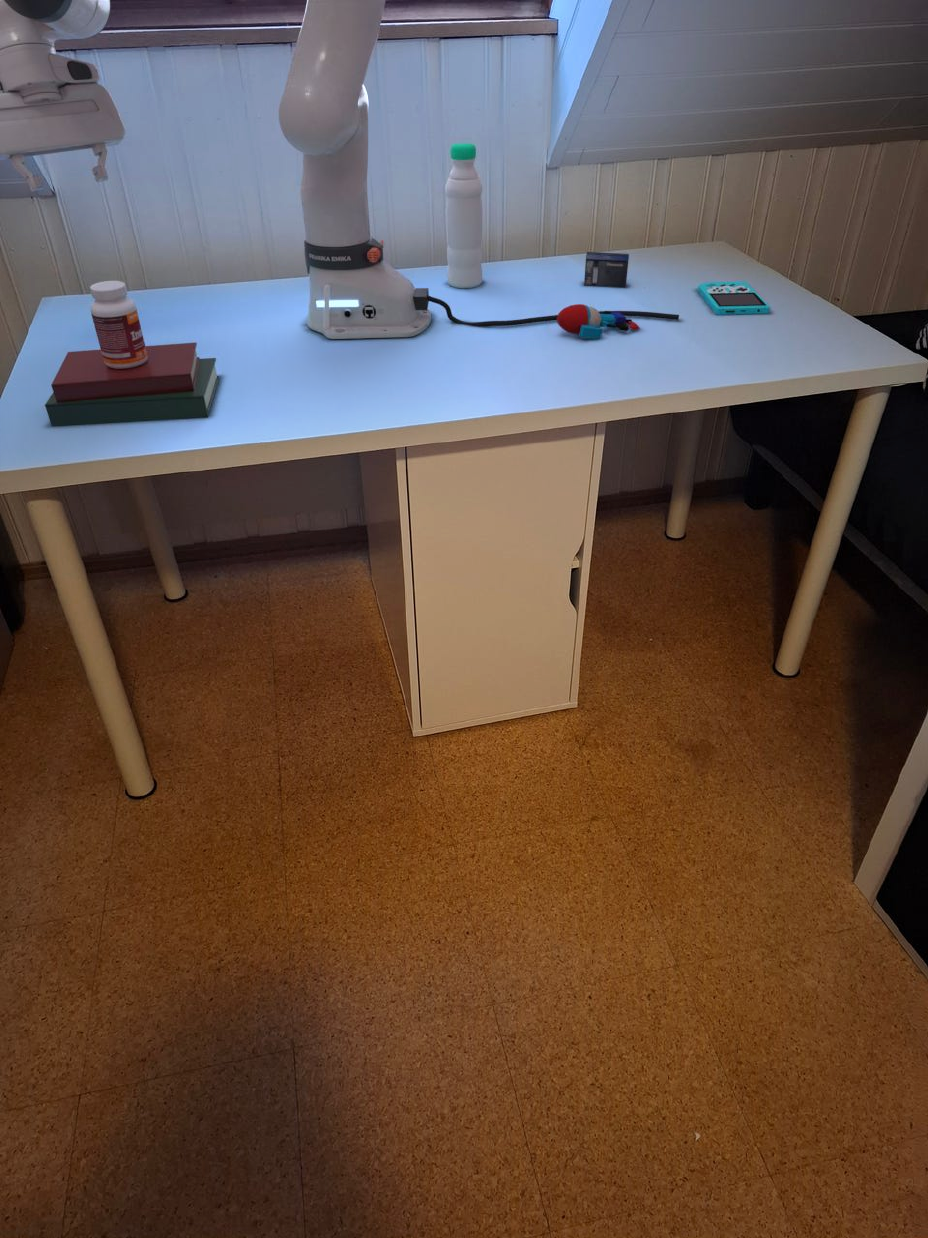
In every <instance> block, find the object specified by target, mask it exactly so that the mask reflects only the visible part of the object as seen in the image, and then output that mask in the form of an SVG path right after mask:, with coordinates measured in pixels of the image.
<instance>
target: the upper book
mask: <svg viewBox="0 0 928 1238" xmlns="http://www.w3.org/2000/svg"><path fill="white" fill-rule="evenodd" d="M197 344H198V343H197V342H196V341H195V342H185V343H171V344H170V343H169V344H159V345H158V344H156V345H155V344H154V345H145V347H146V351H147V355H148V358H147V361H146V362H145V363H144V364H142V365H139V366H137V367H133V368H127V369H114V368H111V367H108V366H107V365H106V364H105V363H104V360H103V356H102V352H101V349H90V350H89V349H88V350H76V351H74V350H73V351H68V352H67V353H66V355H65V357H64V359H63V361H62V363H61V365H60V367H59V369H58V371H57V372H56V375H55V377H54V379H53V381H52V382H51V389H52V393H53V392H54V395H55V398H56V402H68V401H80V400H92V399H104V398H117V397H129V396H141V395H153V394H166V393H178V392H190V391H194V389H195V383H196V377H197V372H198V366H199V360H200V359H201V358H200V356H198V354H197Z"/></svg>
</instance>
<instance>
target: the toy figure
mask: <svg viewBox="0 0 928 1238" xmlns="http://www.w3.org/2000/svg"><path fill="white" fill-rule="evenodd" d="M598 311H599V310H598V309H596V308H595V307H593V306H588V305H586V304H583V303H582V304H581V303H580V304H579V303H578V304H577V303H576V304H572V305H568V306H566V307H563V309H561V310H560V311H559V313H558V314H557V315H558V316H557V320H556V322H557V324H558V326H559V327H560V328H561V329H562V330H563V331H565V332H567V333H569V334H573V335H578V336H579V337H580V338H584V339H593V340H594V339H595V340H599V339H601V338H602V334H603V330H604V328H617V329H618V330H619V331H625V332H626V331H629V329H630V330H635V331H637V330H640V326H639V325H638V324H637V323H636V322H634V321H633V319H629V318H627V316H624V315H623V314H621V313H618V312H611V311H612V310H603V311H604V312H603V313H602V314H600V313H599V312H598Z"/></svg>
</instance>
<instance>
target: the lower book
mask: <svg viewBox="0 0 928 1238" xmlns="http://www.w3.org/2000/svg"><path fill="white" fill-rule="evenodd" d="M216 362H217V357H210V358H209V357H207V358H206V357H205V358H200V360H199V366H198V372H197V377H196V383H195V389H194V391H190V392H178V393H166V394H153V395H141V396H129V397H117V398H104V399H92V400H80V401H68V402H56V398H55V395H54V392H53V391H52V394H51V395H50V396H49V398H48V399H47V400H46V402H45V404H44V407H45V410H46V413H47V416H48V419H49V423H50V425H51V427H56V426H57V427H59V426H75V425H92V424H93V425H94V424H107V423H108V424H110V423H127V422H142V421H143V422H145V421H162V420H177V419H179V420H180V419H196V418H208V417H209V414H210V411H211V407H212V404H213V402H214V397H215V394H216V390H217V387H218V384H219V381H220V375H218V374H217V369H216Z"/></svg>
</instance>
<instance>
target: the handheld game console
mask: <svg viewBox="0 0 928 1238" xmlns="http://www.w3.org/2000/svg"><path fill="white" fill-rule="evenodd" d="M697 292H698V293H699V295H700V296H701V297H702V298H703V300H704V301H705V303H707V305H708V306H709V307H710V309H711V310H712V311H713V312H714V314H715V315H717V316H722V315H723V316H725V315H762V314H763V315H765V314H770V311H771V306H770V305H769V304H768V303H767V302H766V301H765V300H764V298H763V297H762V296H760V295H759V294H758V292H756V290H754V288H753V287H752V286H751V285H750V284H749V283H748V282H747V281H744V280H740V281H739V280H738V281H737V280H736V281H707V282H702V283H699V284H698V286H697Z"/></svg>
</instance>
